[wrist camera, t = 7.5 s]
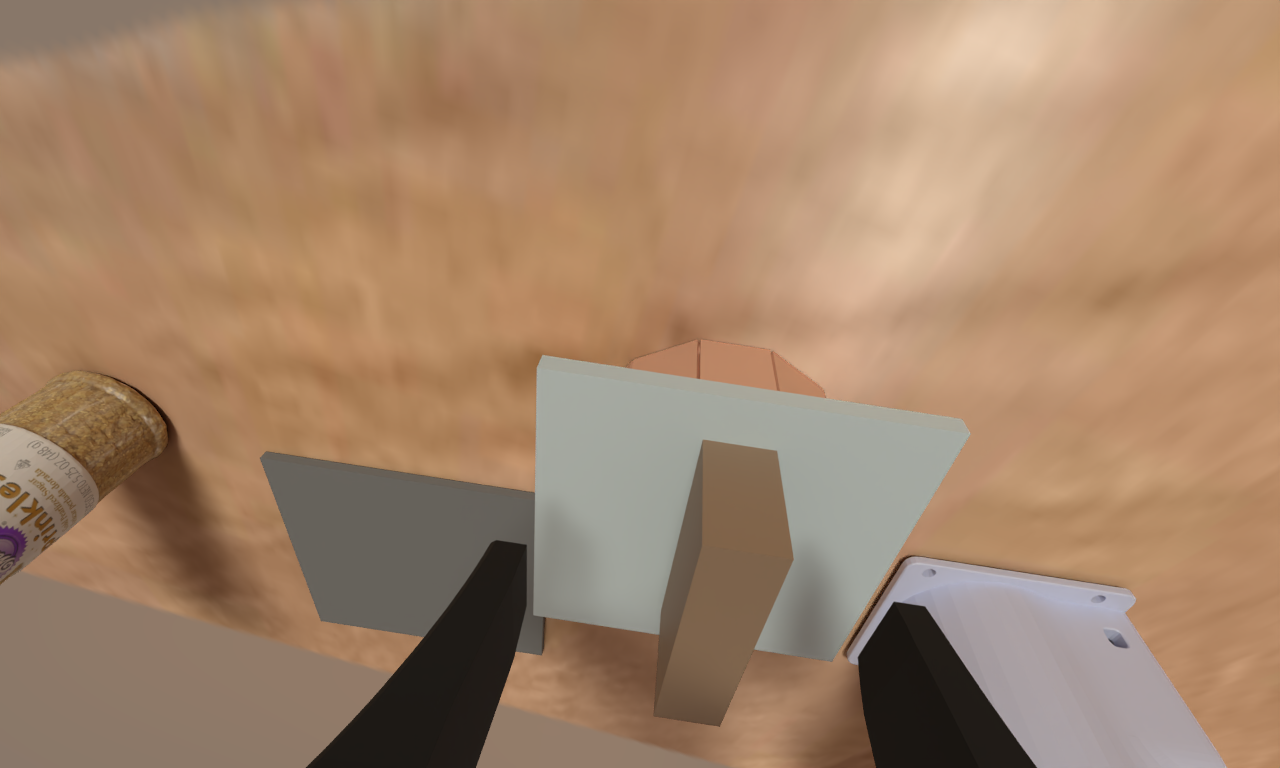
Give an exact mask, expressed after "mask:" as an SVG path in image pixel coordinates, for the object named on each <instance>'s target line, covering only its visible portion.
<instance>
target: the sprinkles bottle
mask: <svg viewBox="0 0 1280 768" xmlns="http://www.w3.org/2000/svg"><path fill="white" fill-rule="evenodd" d="M167 442H168V436H167V431H166V424H165V422H164V421H163V420H162V417H161V416H160V414H159V413H158V411H157V410H156V409H155V407H154V406H153V405H152V404H151V403H150V402H149V401H148V400H147V399H145V398H144V397H143V396H142V395H140V394H139V393H138V392H137V391H135V390H134V389H132V388H131V387H129V386H127V385H125V384H123V383H121V382H119V381H116V380H115V379H113V378H110V377H107V376H104V375H101V374H96V373H91V372H85V371H72V372H68V373H62V374H60V375H58V376H56V377H54V378H53V379H51V380H50V381H49V382H47V384H46V386H45V387H44V388H42V389H41V390H39V391H38V392H36V393H35V394H33V395H31V396H30V397H28V398H27V399H25V400H23V401H21V402H20V403H18V404H17V405H15V406H13V407H11V408H10V409H8V410H7V411H5V412H3V413H2V414H0V585H1V584H2V583H3V582H4V581H5V580H6V579H8V578H9V577H11V576H12V575H14V574H16V573H18V572H19V571H21V570H22V569H23V568H24V567H26V566H27V565H28V564H29V563H30V562H32V561H33V560H34V559H35V558H36V557H38V556H39V555H40V554H41V553H42V552H43V551H45V550H46V549H47V548H48V547H49V546H50V545H52V544H53V543H54V542H56V541H57V540H58V539H59V538H60V537H62V536H63V535H64V534H65V533H66V532H67V531H69V530H70V529H71V528H72V527H73V526H74V525H76V524H77V523H78V522H79V521H80V520H81V519H83V518H84V517H85V516H86V515H87V514H88V513H89V512H91V511H92V510H93V509H94V508H95V507H96V505H97V504H98V503H99V502H100V501H101V500H102V499H103V498H104V497H105V496H106V495H107V494H108V493H110V492H111V491H112V490H113V489H115V488H116V487H117V486H119V485H120V484H121V483H122V482H123V481H124V480H125V479H127V478H128V477H129V476H130V475H132V474H133V473H134V472H135V471H136V470H137V469H138V468H140V467H141V466H142V465H143V464H145V463H146V462H147V461H149V460H151V459H153V458H156V457H157V456H159V455H160V454H161V453H162V452H163V450H164V449H165V447H166V445H167Z"/></svg>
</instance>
